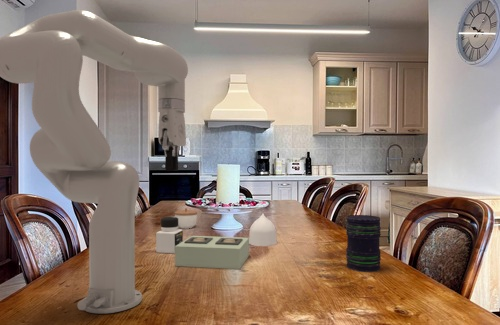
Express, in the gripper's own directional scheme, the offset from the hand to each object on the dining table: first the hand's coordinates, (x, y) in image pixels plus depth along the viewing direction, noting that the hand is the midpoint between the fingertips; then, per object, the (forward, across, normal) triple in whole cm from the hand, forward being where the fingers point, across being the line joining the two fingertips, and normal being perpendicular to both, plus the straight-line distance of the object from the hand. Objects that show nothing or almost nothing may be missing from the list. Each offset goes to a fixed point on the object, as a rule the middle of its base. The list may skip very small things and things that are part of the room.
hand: (171, 170), depth 105 cm
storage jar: (+29, +13, -55) cm, 64 cm away
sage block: (+29, +13, -9) cm, 33 cm away
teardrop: (+29, +41, -21) cm, 55 cm away
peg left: (+29, +13, -4) cm, 32 cm away
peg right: (+29, +13, -14) cm, 35 cm away
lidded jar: (+29, +68, +20) cm, 77 cm away
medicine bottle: (+29, +23, +10) cm, 39 cm away
